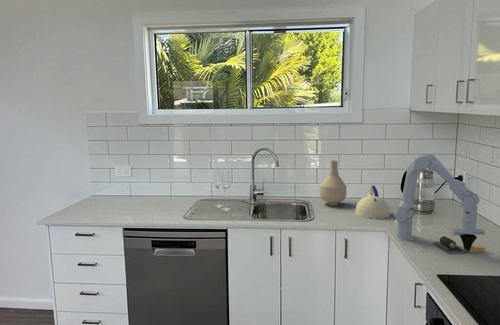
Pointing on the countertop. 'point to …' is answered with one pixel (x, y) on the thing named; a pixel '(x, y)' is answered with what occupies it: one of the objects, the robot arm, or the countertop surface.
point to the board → (448, 248)
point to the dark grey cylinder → (447, 242)
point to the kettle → (372, 206)
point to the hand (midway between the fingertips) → (466, 250)
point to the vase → (333, 186)
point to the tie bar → (477, 249)
